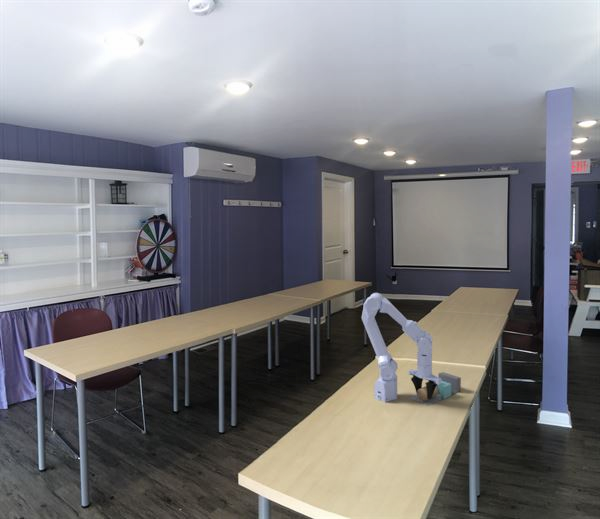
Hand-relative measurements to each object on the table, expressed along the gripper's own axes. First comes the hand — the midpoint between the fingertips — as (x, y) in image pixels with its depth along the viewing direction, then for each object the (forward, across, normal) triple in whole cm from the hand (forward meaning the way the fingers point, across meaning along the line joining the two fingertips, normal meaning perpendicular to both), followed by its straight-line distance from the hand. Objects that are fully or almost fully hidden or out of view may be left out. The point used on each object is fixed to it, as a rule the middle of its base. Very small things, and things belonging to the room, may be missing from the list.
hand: (424, 396), depth 183 cm
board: (+2, +1, -7) cm, 7 cm away
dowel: (+1, 0, -2) cm, 3 cm away
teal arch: (+2, 0, -10) cm, 10 cm away
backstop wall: (+2, +1, -18) cm, 19 cm away
